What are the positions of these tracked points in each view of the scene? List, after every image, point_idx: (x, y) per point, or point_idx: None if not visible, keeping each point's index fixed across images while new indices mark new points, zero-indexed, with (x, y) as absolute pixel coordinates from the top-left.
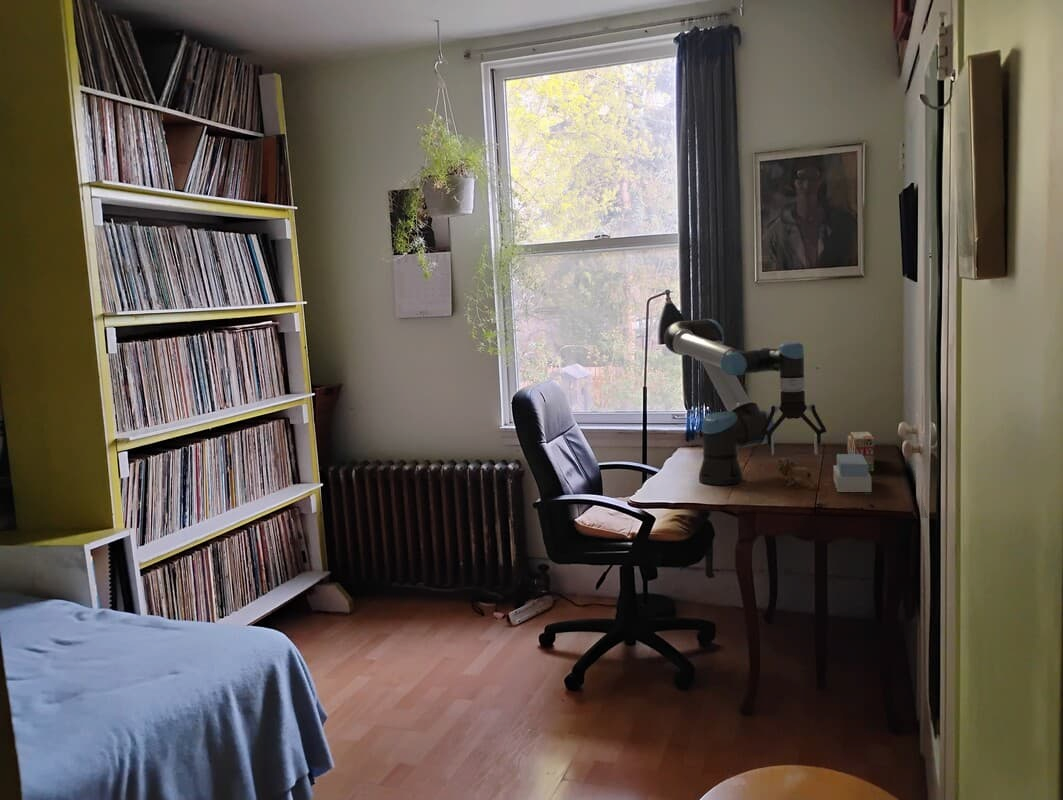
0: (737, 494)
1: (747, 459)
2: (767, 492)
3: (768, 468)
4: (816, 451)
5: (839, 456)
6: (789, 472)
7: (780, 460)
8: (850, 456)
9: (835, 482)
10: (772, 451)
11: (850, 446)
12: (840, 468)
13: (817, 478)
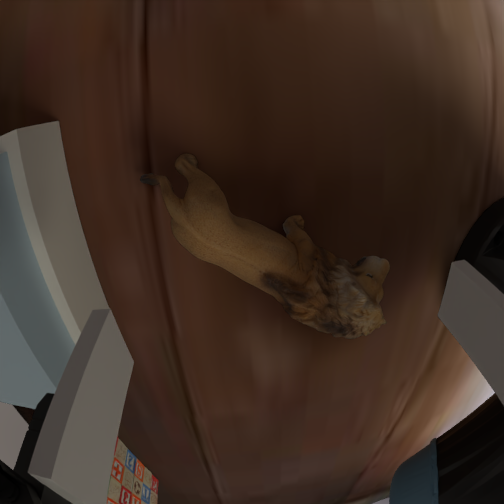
0: (475, 60)
1: (376, 455)
2: (383, 79)
3: (346, 420)
4: (90, 328)
5: (40, 376)
6: (303, 244)
7: (376, 301)
8: (5, 371)
9: (81, 254)
10: (477, 275)
11: (135, 498)
12: None
13: (183, 352)
